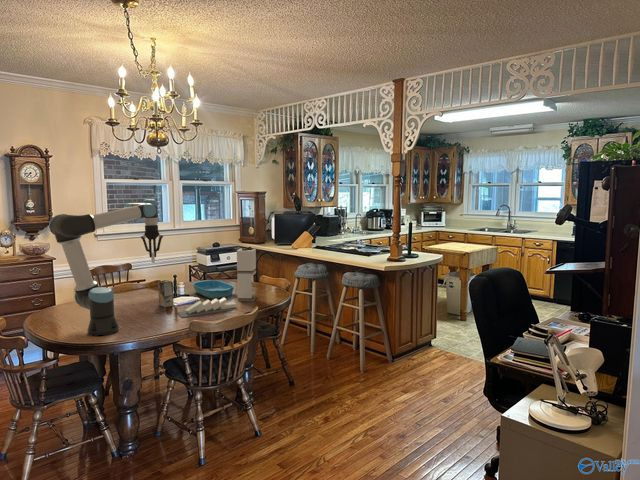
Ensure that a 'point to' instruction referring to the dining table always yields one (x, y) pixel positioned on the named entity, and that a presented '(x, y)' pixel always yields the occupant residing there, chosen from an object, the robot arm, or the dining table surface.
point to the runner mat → (201, 312)
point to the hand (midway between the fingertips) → (153, 262)
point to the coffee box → (165, 293)
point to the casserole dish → (213, 288)
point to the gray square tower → (246, 274)
